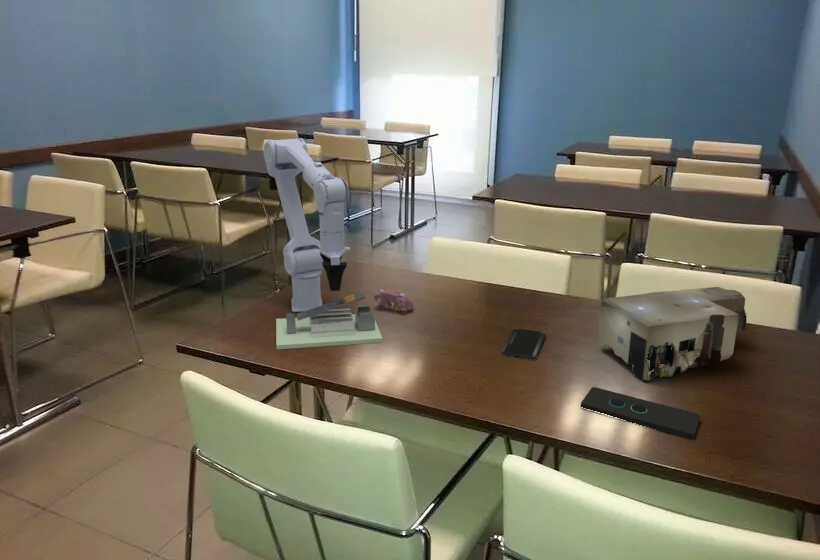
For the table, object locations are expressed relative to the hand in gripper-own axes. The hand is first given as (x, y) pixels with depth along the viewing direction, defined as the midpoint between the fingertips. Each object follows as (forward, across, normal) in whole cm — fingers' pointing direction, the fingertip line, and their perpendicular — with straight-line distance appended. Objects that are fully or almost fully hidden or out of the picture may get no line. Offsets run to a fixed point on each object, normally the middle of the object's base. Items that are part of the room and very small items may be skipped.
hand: (333, 285), depth 155 cm
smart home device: (+12, -52, -52) cm, 74 cm away
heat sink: (+9, -4, +1) cm, 10 cm away
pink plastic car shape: (+11, +8, -16) cm, 21 cm away
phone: (+11, -19, -42) cm, 47 cm away
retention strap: (+4, -4, +1) cm, 6 cm away
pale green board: (+10, -4, +2) cm, 11 cm away
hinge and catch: (+9, -4, +1) cm, 10 cm away
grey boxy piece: (+11, -29, -72) cm, 78 cm away
